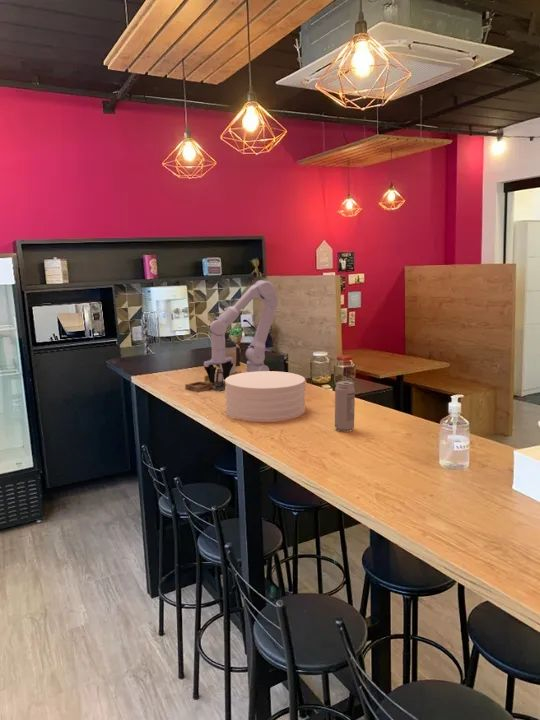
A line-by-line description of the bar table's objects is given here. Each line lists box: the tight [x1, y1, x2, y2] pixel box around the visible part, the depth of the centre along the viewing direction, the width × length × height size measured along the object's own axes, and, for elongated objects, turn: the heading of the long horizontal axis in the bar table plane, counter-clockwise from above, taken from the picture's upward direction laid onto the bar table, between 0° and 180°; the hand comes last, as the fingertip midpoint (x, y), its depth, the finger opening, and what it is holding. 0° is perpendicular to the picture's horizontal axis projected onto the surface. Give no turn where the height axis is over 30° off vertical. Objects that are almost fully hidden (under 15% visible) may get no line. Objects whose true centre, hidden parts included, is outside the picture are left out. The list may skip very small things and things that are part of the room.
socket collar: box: [210, 380, 226, 392], centre depth 234 cm, size 12×12×1 cm
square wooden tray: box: [184, 380, 213, 393], centre depth 229 cm, size 8×8×2 cm
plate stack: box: [224, 370, 306, 423], centre depth 196 cm, size 28×28×12 cm
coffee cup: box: [219, 340, 237, 375], centre depth 260 cm, size 9×9×15 cm
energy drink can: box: [334, 380, 356, 432], centre depth 173 cm, size 6×6×15 cm
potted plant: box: [216, 331, 241, 368], centre depth 277 cm, size 16×11×18 cm
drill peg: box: [215, 368, 224, 387], centre depth 233 cm, size 3×3×8 cm
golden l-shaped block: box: [203, 374, 215, 386], centre depth 237 cm, size 6×2×4 cm, turn 47°
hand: (219, 381), depth 233 cm, fingers open, 7 cm apart
